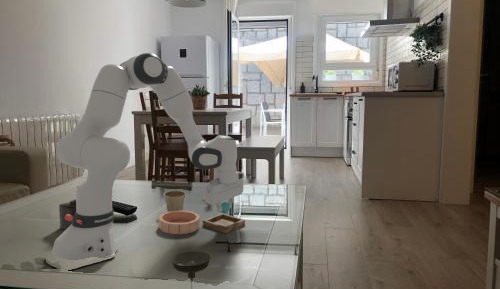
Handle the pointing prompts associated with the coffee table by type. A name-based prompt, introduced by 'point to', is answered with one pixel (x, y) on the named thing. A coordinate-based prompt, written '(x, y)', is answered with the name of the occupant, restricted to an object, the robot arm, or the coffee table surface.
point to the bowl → (179, 222)
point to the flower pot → (174, 200)
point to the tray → (223, 222)
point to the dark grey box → (64, 210)
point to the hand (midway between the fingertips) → (224, 209)
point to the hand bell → (211, 176)
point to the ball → (225, 207)
